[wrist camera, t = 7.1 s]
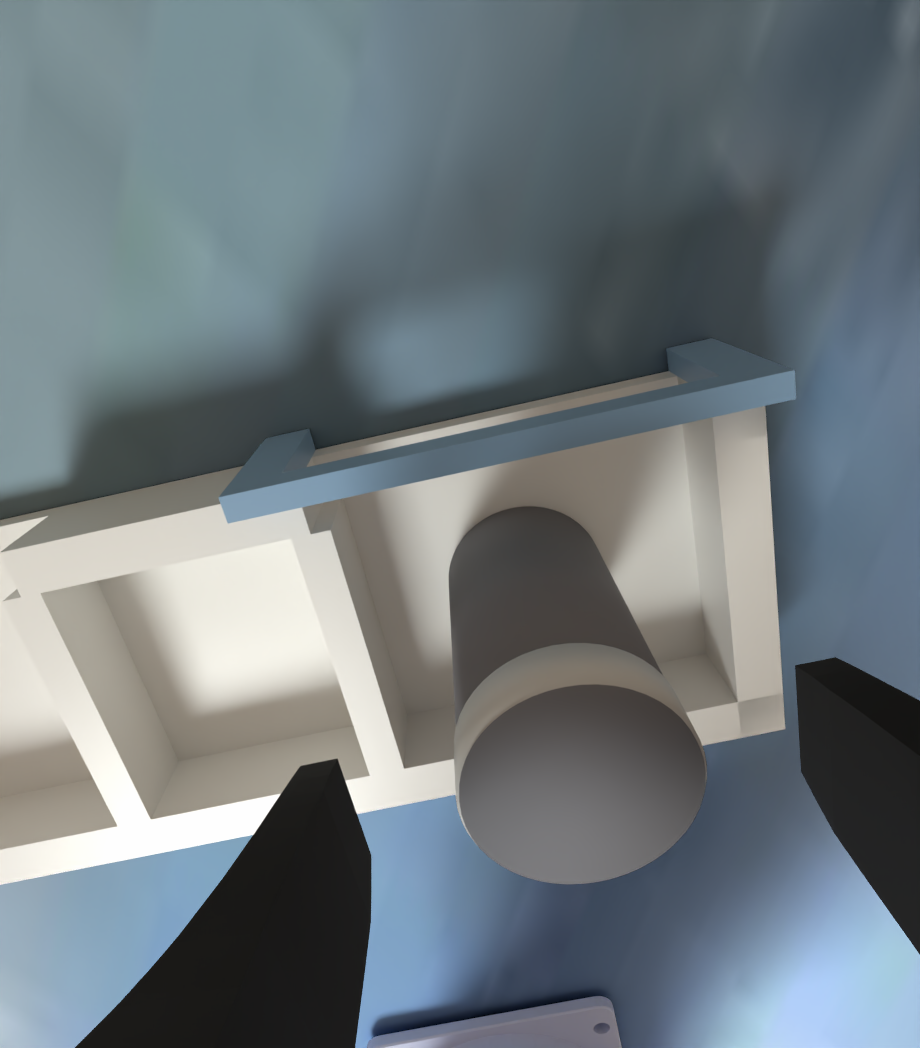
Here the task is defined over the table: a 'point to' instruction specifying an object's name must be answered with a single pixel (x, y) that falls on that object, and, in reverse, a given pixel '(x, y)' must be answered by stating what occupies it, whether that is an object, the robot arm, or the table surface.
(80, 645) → the compartment tray
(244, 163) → the table surface
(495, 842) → the plug
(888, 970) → the table surface
